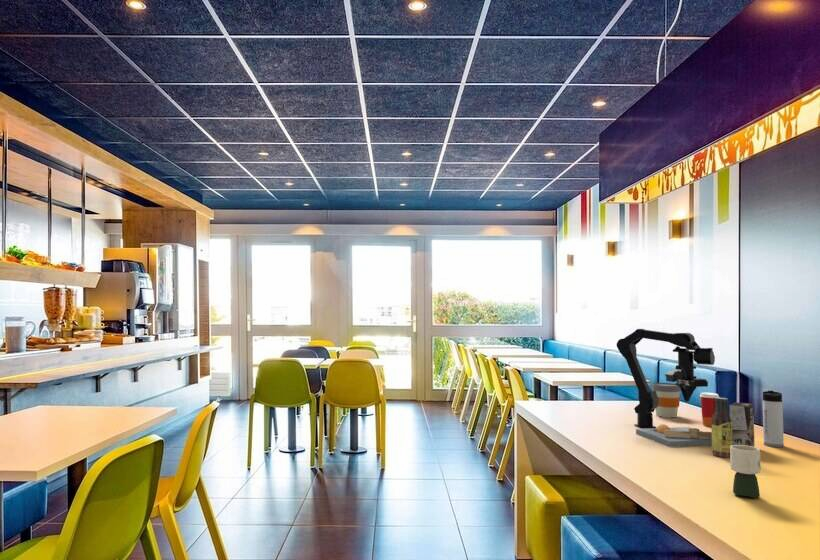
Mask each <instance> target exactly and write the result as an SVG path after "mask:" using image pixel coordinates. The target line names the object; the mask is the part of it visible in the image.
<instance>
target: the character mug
mask: <svg viewBox="0 0 820 560" xmlns="http://www.w3.org/2000/svg"><path fill="white" fill-rule="evenodd" d="M729 458H730V459H729V461H730V470H732V471H733V472H735V474H734V476H733V477H734V478H733V485H732V492H733V494H735V495H738V496H742V497H743V496H744V497H746V498H747V497H748V499H750V498H759V497H760V496H761V495H760V486H759V482H758V477H757V475H758V474H760V473H761V471H762V468H761V458H762V457H761V449H760V448H759V447H756V446H755V447H752V446H746V445H731V446H730V457H729ZM756 474H757V475H756Z"/></svg>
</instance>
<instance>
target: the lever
mask: <svg viewBox="0 0 820 560" xmlns="http://www.w3.org/2000/svg"><path fill="white" fill-rule="evenodd" d="M715 411H716V408H715ZM699 430H700V428H696V427H690V428H689V431H680V430H664V436H672V437H691V438H712V431H703V430H700V431H699ZM702 431H703V432H702Z"/></svg>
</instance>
